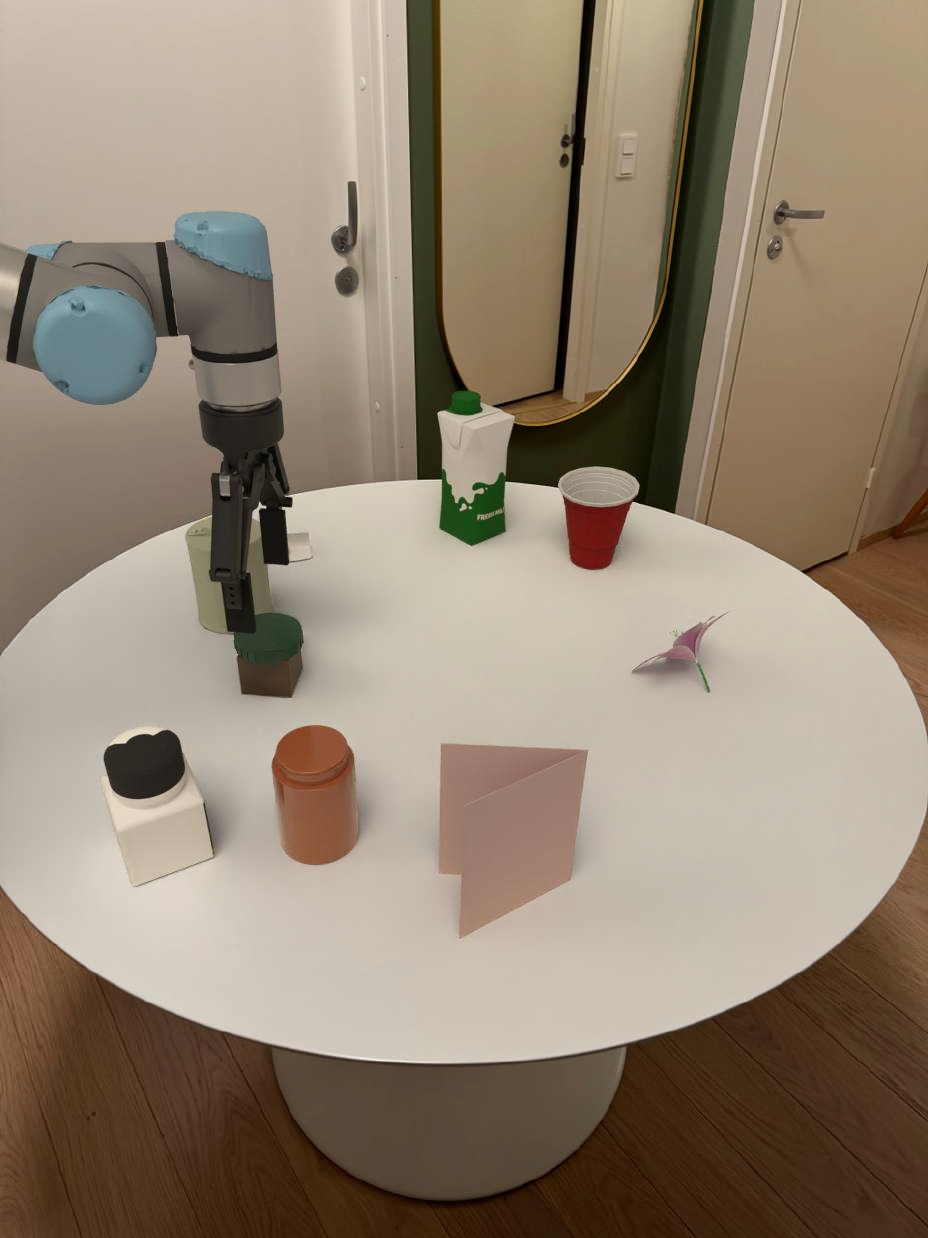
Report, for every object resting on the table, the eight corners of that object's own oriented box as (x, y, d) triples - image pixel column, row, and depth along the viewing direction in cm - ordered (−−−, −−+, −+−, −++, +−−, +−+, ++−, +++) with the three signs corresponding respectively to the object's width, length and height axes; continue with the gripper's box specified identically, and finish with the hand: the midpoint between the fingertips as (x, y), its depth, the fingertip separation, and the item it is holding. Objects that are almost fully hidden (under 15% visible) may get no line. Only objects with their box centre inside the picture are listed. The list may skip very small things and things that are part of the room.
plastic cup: (535, 557, 123) (541, 479, 117) (585, 534, 130) (594, 459, 123) (593, 588, 117) (603, 507, 110) (644, 562, 123) (656, 484, 116)
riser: (241, 694, 96) (236, 657, 93) (255, 664, 101) (250, 628, 98) (291, 698, 96) (287, 661, 93) (303, 667, 100) (299, 631, 98)
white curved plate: (312, 560, 121) (310, 540, 119) (253, 565, 119) (250, 545, 118) (310, 547, 124) (308, 528, 122) (252, 552, 122) (250, 533, 121)
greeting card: (569, 871, 77) (587, 742, 68) (575, 944, 70) (595, 812, 62) (439, 865, 77) (441, 735, 69) (433, 937, 71) (435, 804, 62)
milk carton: (473, 511, 135) (477, 384, 124) (514, 532, 130) (523, 401, 118) (430, 528, 130) (430, 397, 119) (471, 550, 124) (476, 416, 113)
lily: (721, 657, 106) (697, 585, 104) (773, 680, 95) (747, 601, 92) (634, 698, 105) (607, 627, 103) (676, 727, 93) (647, 648, 91)
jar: (272, 862, 77) (259, 773, 71) (291, 804, 82) (281, 718, 77) (351, 868, 76) (345, 779, 70) (364, 809, 82) (360, 723, 76)
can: (200, 596, 112) (187, 512, 106) (273, 591, 114) (264, 508, 107) (195, 637, 105) (180, 549, 98) (273, 631, 106) (264, 544, 100)
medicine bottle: (216, 858, 77) (196, 756, 70) (132, 889, 74) (103, 786, 67) (193, 806, 82) (173, 706, 75) (114, 833, 79) (86, 732, 72)
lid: (310, 627, 98) (309, 614, 97) (294, 666, 92) (293, 652, 91) (245, 623, 99) (244, 610, 98) (225, 661, 93) (223, 648, 92)
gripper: (238, 355, 91) (257, 537, 102) (149, 446, 70) (185, 661, 82) (310, 360, 90) (320, 541, 102) (241, 452, 70) (264, 667, 81)
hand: (260, 595), depth 92 cm, fingers open, 13 cm apart
